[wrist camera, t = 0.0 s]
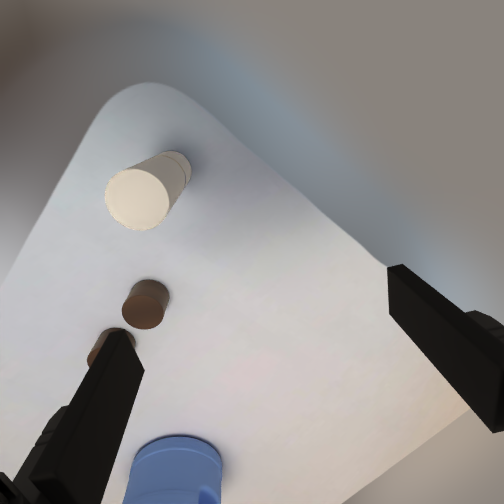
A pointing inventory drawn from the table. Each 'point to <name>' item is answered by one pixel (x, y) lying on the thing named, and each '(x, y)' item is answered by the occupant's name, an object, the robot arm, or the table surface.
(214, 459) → the water jug
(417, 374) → the table surface
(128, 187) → the tube
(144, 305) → the disc
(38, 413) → the table surface
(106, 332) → the brown short cylinder
